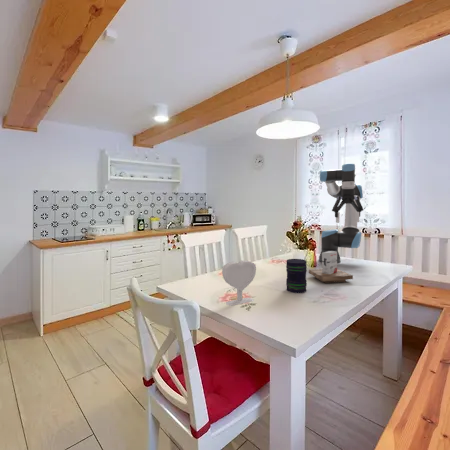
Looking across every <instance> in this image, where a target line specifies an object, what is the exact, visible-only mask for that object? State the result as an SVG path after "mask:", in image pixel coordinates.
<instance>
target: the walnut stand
mask: <svg viewBox="0 0 450 450" xmlns="http://www.w3.org/2000/svg"><path fill="white" fill-rule="evenodd" d="M308 273H309V275H311V276H313V277H314V278H316V279H317V280H319V281H321V282H322V283H325V284H332V283H333V284H334V283H335V284H336V283H346V282H347V280H353V279H354V275H353V274H350V273H348V272H345V271H343V270H341V269H338V268H337V272H335V273H332V274H325V273H322V268H317V269H315V268H314V269H308Z"/></svg>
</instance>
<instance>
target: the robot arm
mask: <svg viewBox="0 0 450 450" xmlns="http://www.w3.org/2000/svg"><path fill="white" fill-rule="evenodd" d="M356 176H357V173H356V165H355V163H344V164H342V166H341V169H329V170H328V169H327V170H320V172H319V181H320V182H323V183H324V184H325V185H326V187H327V188H326V190H327V194H328V195H330V196H331V197H332V198H334V199H336V201H335V203H334V204H333V207H332V209H331V212H333V213H334V217H335V223H339V224H340V212H339V211H340V210H341V209H342V207H344V205H345V207H344V208H345V209H344V210H345V211H344V227H343V228H342V229H341V231H339V229H326V230H322V231H321V237H320V238H321V239H320V241H321V248H320V253H319V256H318V261H319V262H322V253H323V252H327V251H336V252H337V263H341V255H340V252H339V248H342V249H344V248H346V249H347V248H348V249H358V248H359V247H360V246H361V240H362V232H361V231H360V229H359V228H358V223H359V222H360V217H361V212H363V211H364V208H363V205H362V203H361V199H363V196H364V195H363V186H362V184H361V183H356V182H355V178H356ZM338 181H339V182H341V184H340V183H338Z"/></svg>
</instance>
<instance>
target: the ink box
mask: <svg viewBox="0 0 450 450" xmlns="http://www.w3.org/2000/svg"><path fill="white" fill-rule="evenodd" d="M321 269H322V273H325V274H332V273H335V272H337V269H338V262H337V252H336V251H327V252H323V253H322V261H321Z"/></svg>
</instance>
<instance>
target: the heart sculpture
mask: <svg viewBox="0 0 450 450" xmlns="http://www.w3.org/2000/svg"><path fill="white" fill-rule="evenodd" d="M256 266H257V265H256V264H255V263H254V262H252V261H248V260H244V259H243V260H240V261H238V262H235V261H231V262H228V263H225V264H224V265H223V266H222V270H221V272H222V278H223V280H224V281H225V283H226V284H228V285H229V286H231V287H232V288H234V289H236V299H234V300H229V301H226V302H225V304H226V305H227V306H229V307H230V306H233V307H234V306H237V305H241V304H246V303H250V302H254V299H253V298H251V297H243V290H245V289H246V288H247V287H248V286H249V285H250V284H251V283H252V282H253V281H254V279H255V276H256V273H257V267H256Z"/></svg>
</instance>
